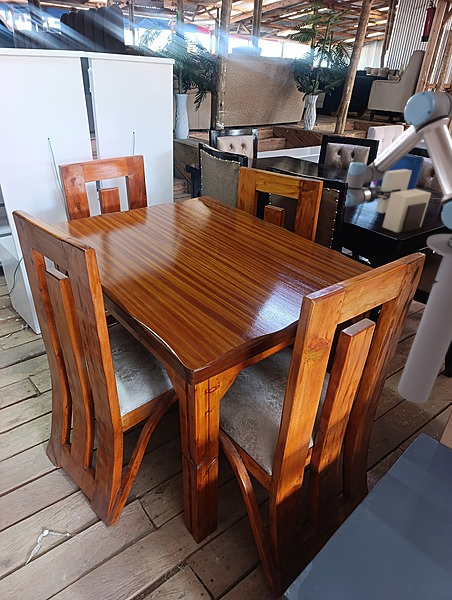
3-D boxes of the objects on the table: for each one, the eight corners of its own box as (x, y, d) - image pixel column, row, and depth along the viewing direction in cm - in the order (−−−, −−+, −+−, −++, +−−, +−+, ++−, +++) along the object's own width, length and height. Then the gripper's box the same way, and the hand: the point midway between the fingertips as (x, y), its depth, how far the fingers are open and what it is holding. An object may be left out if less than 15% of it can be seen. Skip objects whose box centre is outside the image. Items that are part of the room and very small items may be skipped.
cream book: (401, 209, 211) (411, 170, 201) (381, 213, 203) (391, 173, 193) (395, 207, 213) (405, 168, 204) (375, 211, 206) (384, 171, 196)
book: (413, 201, 227) (426, 155, 215) (411, 203, 222) (423, 156, 209) (375, 194, 237) (384, 150, 224) (372, 197, 231) (381, 151, 219)
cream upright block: (422, 227, 187) (433, 193, 179) (398, 233, 178) (408, 197, 170) (406, 221, 193) (415, 188, 185) (382, 227, 185) (391, 192, 177)
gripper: (350, 198, 201) (380, 193, 212) (377, 207, 188) (408, 202, 200) (353, 183, 197) (383, 179, 208) (381, 192, 185) (412, 187, 196)
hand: (395, 190), depth 204 cm, fingers closed on cream book, 4 cm apart
